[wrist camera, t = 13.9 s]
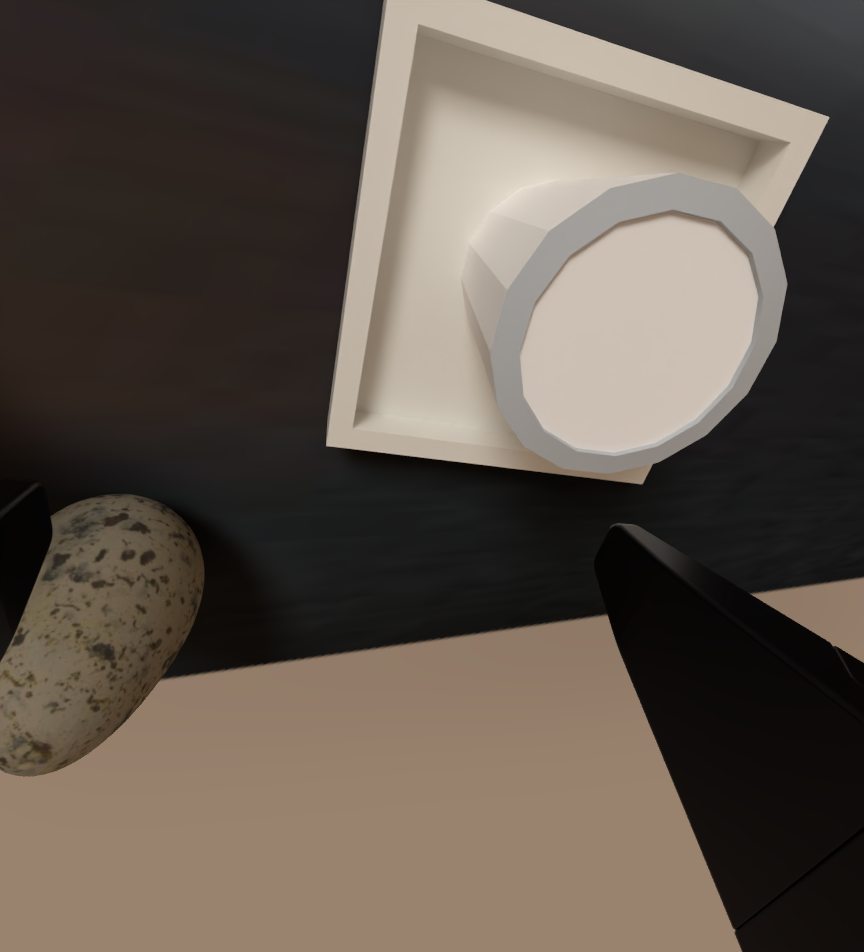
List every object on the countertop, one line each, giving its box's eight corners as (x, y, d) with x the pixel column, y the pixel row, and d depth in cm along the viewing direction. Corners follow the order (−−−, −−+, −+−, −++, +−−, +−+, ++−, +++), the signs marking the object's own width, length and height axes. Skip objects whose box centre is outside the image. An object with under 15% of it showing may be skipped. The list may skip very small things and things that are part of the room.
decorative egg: (27, 475, 20) (-201, 728, 11) (187, 445, 20) (78, 671, 12) (104, 588, 23) (-29, 846, 15) (241, 560, 23) (185, 800, 15)
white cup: (481, 402, 20) (537, 514, 14) (409, 216, 16) (445, 264, 10) (656, 327, 19) (791, 413, 14) (624, 115, 16) (791, 107, 10)
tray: (327, 419, 20) (326, 445, 19) (385, -13, 14) (391, -32, 12) (621, 458, 23) (642, 484, 22) (780, 118, 17) (829, 117, 15)
